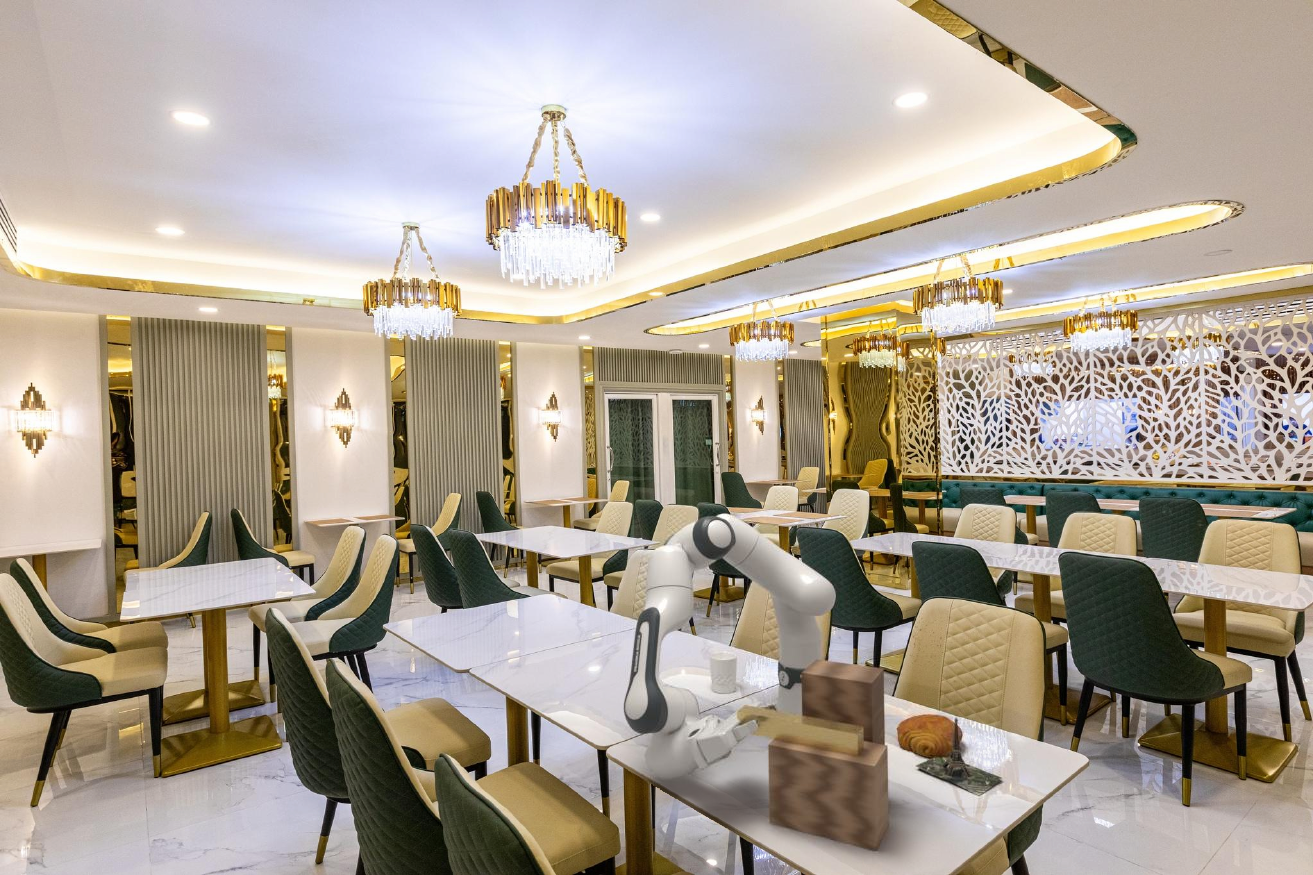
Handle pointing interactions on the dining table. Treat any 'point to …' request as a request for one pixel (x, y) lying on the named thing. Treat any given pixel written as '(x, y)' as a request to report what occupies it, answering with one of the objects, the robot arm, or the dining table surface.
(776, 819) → the stand
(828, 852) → the dining table surface
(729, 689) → the white cup
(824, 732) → the rail
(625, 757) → the dining table surface
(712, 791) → the dining table surface
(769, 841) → the dining table surface
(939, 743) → the croissant
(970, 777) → the eiffel tower figurine
